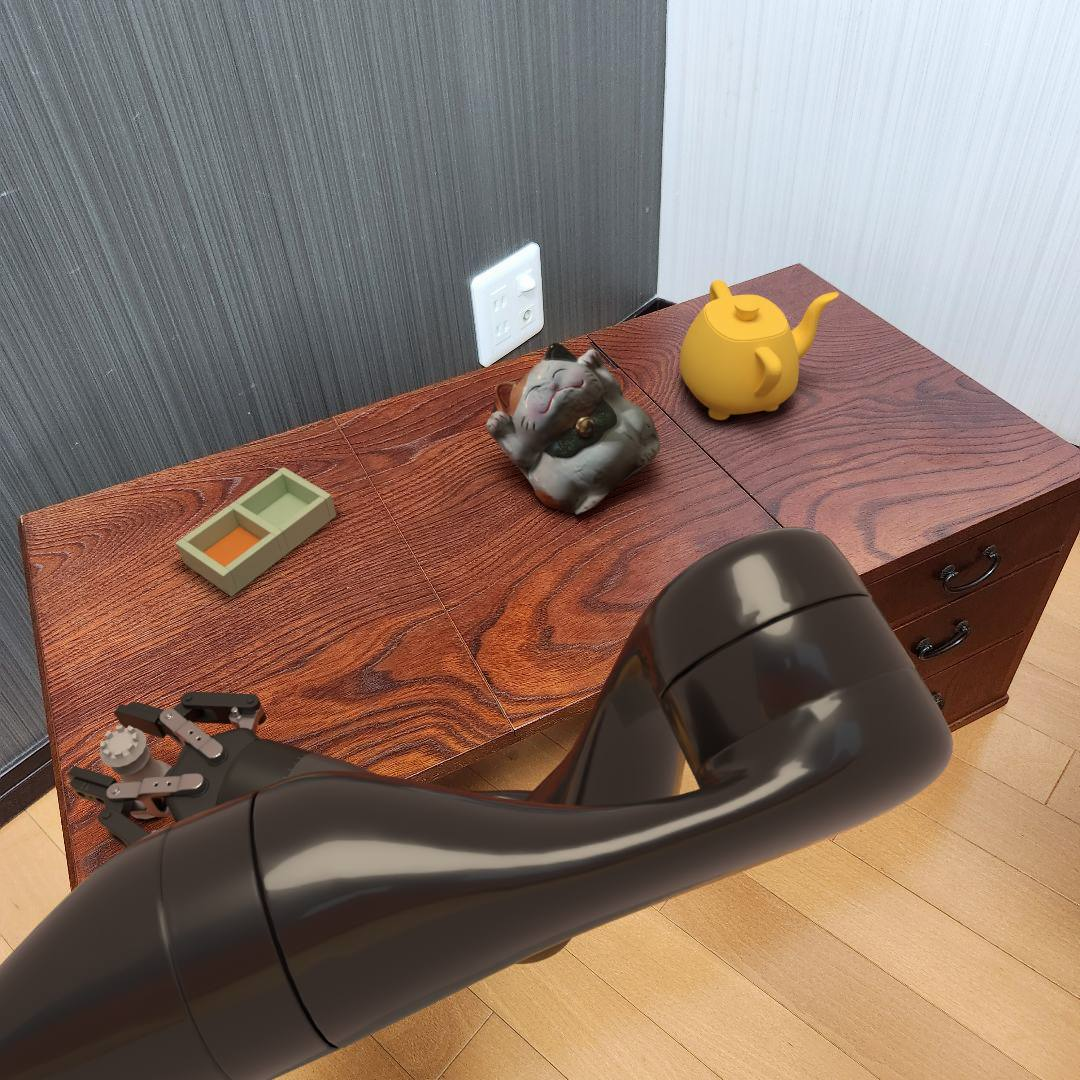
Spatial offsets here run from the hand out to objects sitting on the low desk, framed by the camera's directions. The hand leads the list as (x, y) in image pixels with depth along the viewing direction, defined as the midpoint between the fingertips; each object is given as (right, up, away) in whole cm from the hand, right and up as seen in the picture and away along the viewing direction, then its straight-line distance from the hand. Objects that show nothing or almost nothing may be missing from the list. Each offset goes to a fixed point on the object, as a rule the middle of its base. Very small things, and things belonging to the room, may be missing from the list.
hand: (98, 745), depth 69 cm
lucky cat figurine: (+36, +22, +29) cm, 51 cm away
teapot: (+57, +32, +37) cm, 75 cm away
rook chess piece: (+3, -5, +4) cm, 7 cm away
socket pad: (+5, +15, +23) cm, 28 cm away
